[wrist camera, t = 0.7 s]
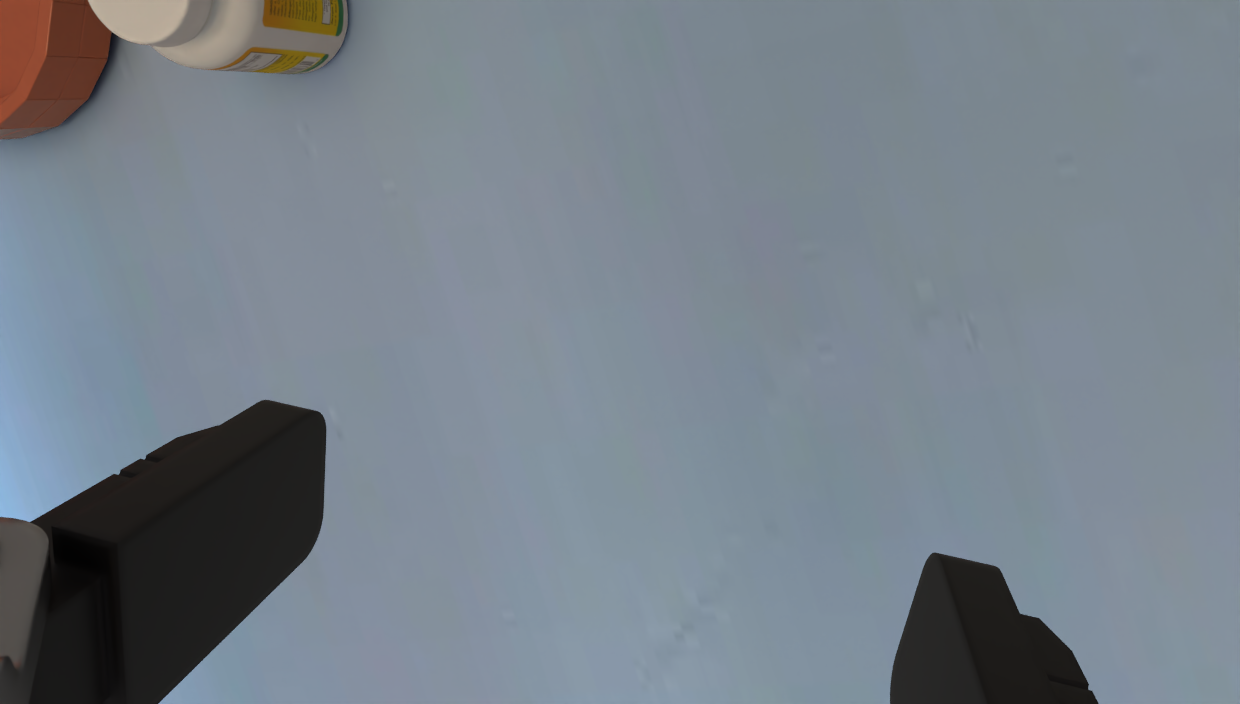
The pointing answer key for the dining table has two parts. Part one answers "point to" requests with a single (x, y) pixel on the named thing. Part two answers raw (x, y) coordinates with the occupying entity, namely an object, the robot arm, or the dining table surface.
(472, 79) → the dining table surface
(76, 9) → the bowl
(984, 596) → the robot arm
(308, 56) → the supplement bottle
